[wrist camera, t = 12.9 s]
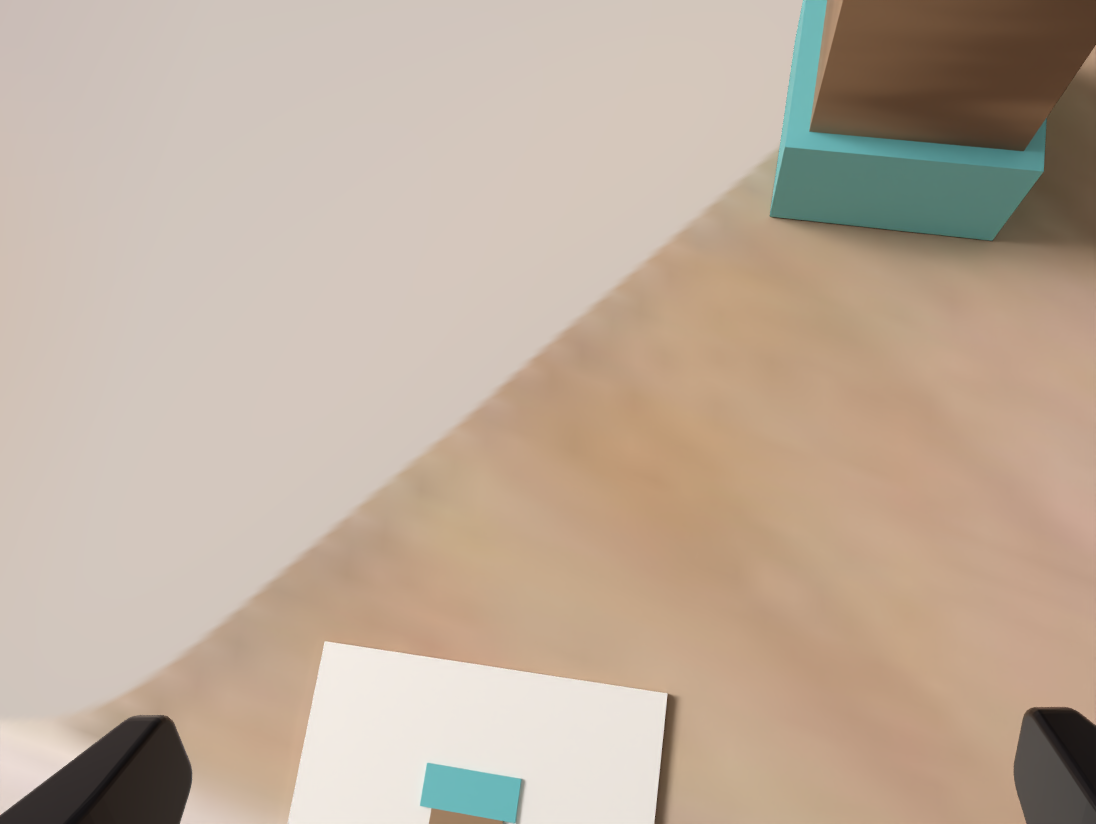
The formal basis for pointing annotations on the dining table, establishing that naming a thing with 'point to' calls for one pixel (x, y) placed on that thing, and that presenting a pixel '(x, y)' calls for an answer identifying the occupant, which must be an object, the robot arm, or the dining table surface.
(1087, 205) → the dining table surface
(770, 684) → the dining table surface
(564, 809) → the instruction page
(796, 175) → the teal base block
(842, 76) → the walnut brick
